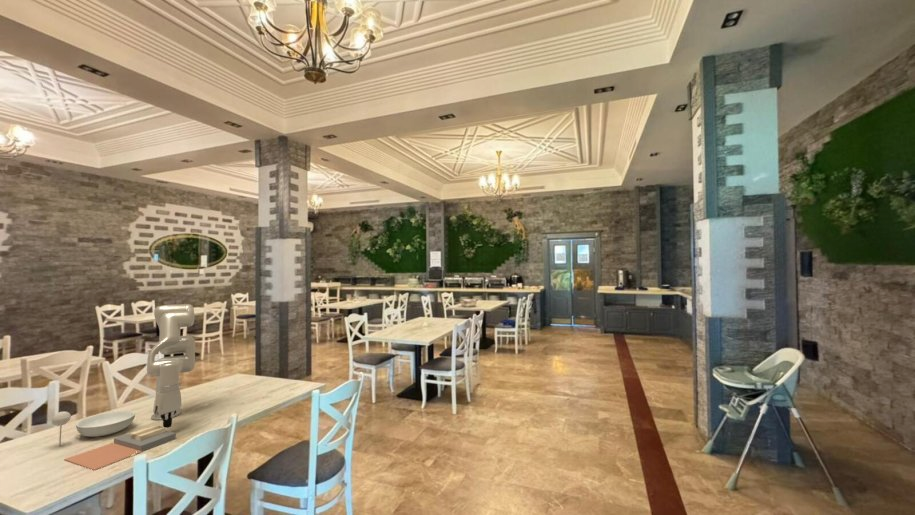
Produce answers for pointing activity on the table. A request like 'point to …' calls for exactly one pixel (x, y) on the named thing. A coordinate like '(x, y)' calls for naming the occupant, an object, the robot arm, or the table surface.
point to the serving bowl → (105, 423)
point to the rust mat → (102, 456)
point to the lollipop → (61, 421)
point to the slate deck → (145, 443)
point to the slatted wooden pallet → (147, 432)
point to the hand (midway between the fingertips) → (167, 426)
